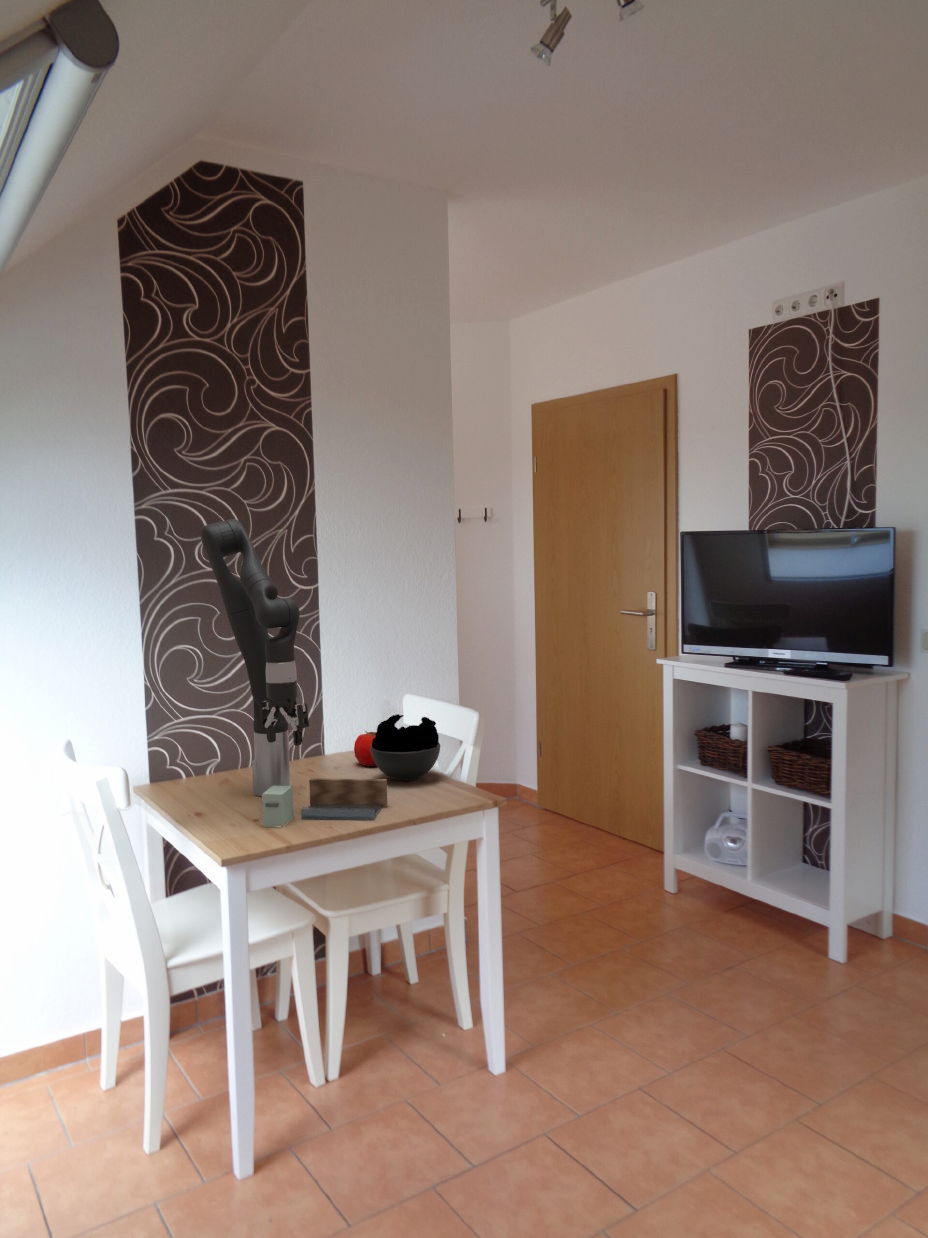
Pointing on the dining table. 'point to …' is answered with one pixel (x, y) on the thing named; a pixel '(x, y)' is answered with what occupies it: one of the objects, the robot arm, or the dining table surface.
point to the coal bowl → (405, 748)
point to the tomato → (364, 748)
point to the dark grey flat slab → (341, 811)
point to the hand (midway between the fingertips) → (284, 743)
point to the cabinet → (277, 805)
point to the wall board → (348, 791)
